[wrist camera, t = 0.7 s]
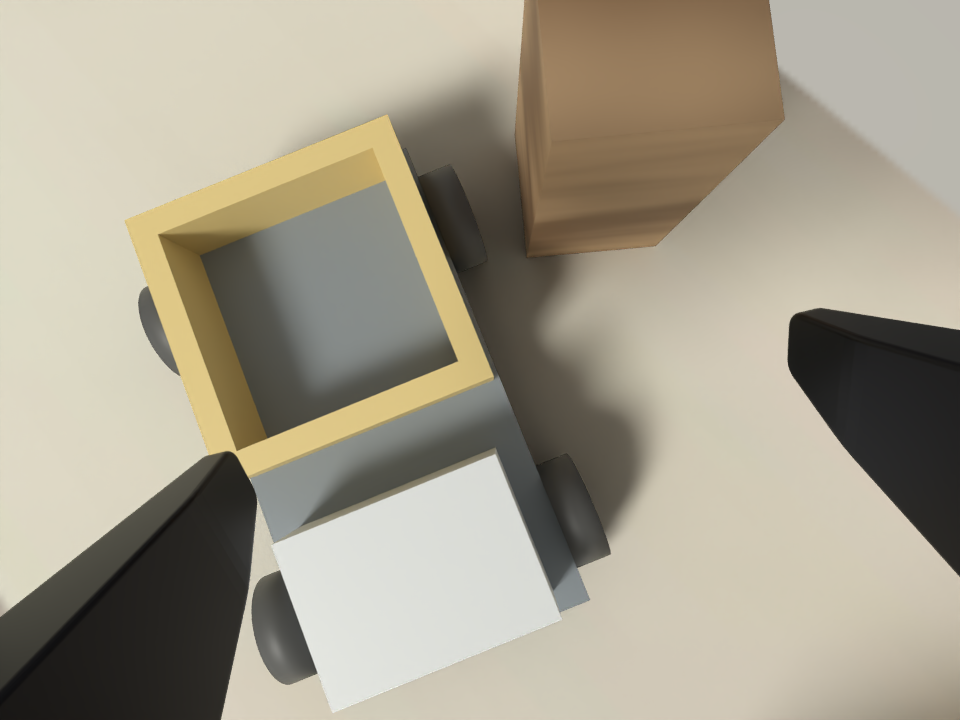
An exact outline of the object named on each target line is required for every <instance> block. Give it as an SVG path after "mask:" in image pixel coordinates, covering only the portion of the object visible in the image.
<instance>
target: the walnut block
mask: <svg viewBox="0 0 960 720" xmlns="http://www.w3.org/2000/svg"><path fill="white" fill-rule="evenodd" d="M784 120H785V117H784V110H783V102H782V95H781V87H780V80H779V72H778V65H777V57H776V50H775V43H774V35H773V27H772V20H771V12H770V4H769V0H525V1H524V15H523V28H522V42H521V56H520V69H519V83H518V97H517V110H516V124H515V141H516V152H517V162H518V173H519V183H520V194H521V204H522V215H523V225H524V236H525V246H526V257H527V258H531V257H542V256H553V255H564V254H574V253H585V252H596V251H607V250H618V249H628V248H639V247H650V246H656V245H657V244H658V243H659V242H660V241H661V240H662V239H663V238H664V237H665V236H666V235H667V234H668V233H669V232H670V231H671V230H672V229H673V228H674V227H675V226H676V225H677V224H679V223H680V222H681V221H682V220H683V219H684V218H685V217H686V216H687V215H688V214H689V213H690V212H691V211H692V210H693V209H694V208H695V207H696V206H697V205H698V204H699V203H700V202H701V201H702V200H703V199H704V198H705V197H706V196H707V195H708V194H709V193H710V192H711V191H712V190H713V189H714V188H715V187H716V186H717V185H718V184H719V183H720V182H721V181H722V180H723V179H724V178H725V177H726V176H727V175H728V174H730V173H731V172H732V171H733V170H734V169H735V168H736V167H737V166H738V165H739V164H740V163H741V162H742V161H743V160H744V159H745V158H746V157H747V156H748V155H749V154H750V153H751V152H752V151H753V150H754V149H755V148H756V147H757V146H758V145H759V144H760V143H761V142H762V141H763V140H764V139H765V138H766V137H767V136H768V135H769V134H770V133H771V132H772V131H773V130H774V129H775V128H776V127H777V126H778V125H780V124H781V123H782V122H783V121H784Z"/></svg>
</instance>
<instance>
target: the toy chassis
mask: <svg viewBox="0 0 960 720" xmlns="http://www.w3.org/2000/svg"><path fill="white" fill-rule="evenodd" d="M125 223H126V226H127V229H128V232H129V234H130V237H131V240H132V243H133V245H134V248H135V251H136V254H137V256H138V259H139V262H140V265H141V268H142V270H143V273H144V276H145V279H146V281H147V284H148V286H147V287H145V288H144V289H143V290H142V291H141V293H140V296H139V302H138V306H139V314H140V318H141V322H142V325H143V328H144V330H145V333H146V335H147V337H148V339H149V341H150V343H151V345H152V347H153V348H154V350H155V351H156V353H157V354H158V355H159V357H160V358H161V359H162V361H163V362H164V363H165V364H166V365H167V366H168V367H169V368H170V369H171V370H172V371H173V372H175V373H176V374H178V375H179V376H181V379H182V381H183V384H184V387H185V390H186V392H187V395H188V398H189V401H190V404H191V406H192V409H193V412H194V415H195V417H196V420H197V423H198V426H199V429H200V431H201V434H202V437H203V440H204V442H205V445H206V448H207V451H208V453H209V455H212V454H216V453H220V452H224V451H230V452H233V453H234V454H235V455H236V456H237V457H238V459H239V461H240V463H241V465H242V467H243V468H244V470H245V472H246V474H247V476H248V478H250V479H251V481H252V484H253V487H254V490H255V492H256V495H257V498H258V501H259V503H260V506H261V509H262V512H263V514H264V517H265V520H266V523H267V525H268V528H269V531H270V533H271V536H272V539H273V542H274V543H273V544H272V545H271V547H272V549H273V552H274V555H275V557H276V560H277V563H278V566H279V568H280V570H279V571H277V572H274V573H272V574H269V575H267V576H264V577H263V578H261V579H260V580H259V582H258V583H257V585H256V587H255V590H254V593H253V598H252V624H253V631H254V636H255V640H256V644H257V647H258V650H259V652H260V655H261V657H262V659H263V662H264V664H265V665H266V667H267V669H268V670H269V672H270V673H271V674H272V675H273V677H274V678H275V679H277V680H278V681H279V682H281V683H283V684H286V685H290V684H293V683H295V682H298V681H300V680H303V679H305V678H308V677H310V676H313V675H315V674H318V675H319V678H320V681H321V684H322V686H323V689H324V692H325V695H326V697H327V700H328V703H329V706H330V708H331V711H332V713H334V712H337V711H339V710H342V709H344V708H347V707H349V706H351V705H354V704H356V703H359V702H361V701H364V700H366V699H369V698H371V697H374V696H376V695H378V694H381V693H383V692H386V691H388V690H391V689H393V688H396V687H398V686H401V685H403V684H405V683H408V682H410V681H413V680H415V679H418V678H420V677H423V676H425V675H428V674H430V673H433V672H435V671H437V670H440V669H442V668H445V667H447V666H450V665H452V664H455V663H457V662H460V661H462V660H464V659H467V658H469V657H472V656H474V655H477V654H479V653H482V652H484V651H487V650H489V649H491V648H494V647H496V646H499V645H501V644H504V643H506V642H509V641H511V640H514V639H516V638H518V637H521V636H523V635H526V634H528V633H531V632H533V631H536V630H538V629H541V628H543V627H546V626H548V625H550V624H553V623H555V622H558V621H560V620H562V618H561V614H560V612H562V611H564V610H567V609H569V608H572V607H574V606H577V605H579V604H582V603H584V602H587V601H589V600H590V598H589V596H588V594H587V591H586V589H585V586H584V584H583V581H582V579H581V576H580V574H579V571H578V569H577V568H578V567H581V566H583V565H585V564H588V563H590V562H593V561H595V560H598V559H600V558H603V557H605V556H608V555H610V554H611V552H610V548H609V544H608V541H607V538H606V535H605V533H604V530H603V527H602V525H601V522H600V520H599V517H598V515H597V512H596V510H595V508H594V505H593V503H592V501H591V498H590V496H589V494H588V491H587V489H586V487H585V485H584V483H583V481H582V479H581V477H580V475H579V473H578V471H577V469H576V467H575V465H574V463H573V461H572V460H571V458H570V456H569V455H568V454H565V455H562V456H560V457H557V458H555V459H553V460H550V461H548V462H545V463H543V464H540V465H538V466H535V463H534V461H533V459H532V456H531V454H530V451H529V449H528V446H527V444H526V441H525V439H524V436H523V434H522V432H521V429H520V427H519V424H518V422H517V419H516V417H515V414H514V412H513V409H512V407H511V405H510V402H509V400H508V397H507V395H506V392H505V390H504V387H503V385H502V382H501V380H500V378H499V375H498V373H497V370H496V368H495V365H494V363H493V360H492V358H491V355H490V353H489V350H488V348H487V346H486V343H485V341H484V338H483V336H482V333H481V331H480V328H479V326H478V323H477V321H476V319H475V316H474V314H473V311H472V309H471V306H470V304H469V301H468V299H467V296H466V294H465V292H464V289H463V287H462V284H461V282H460V279H459V277H458V274H457V273H459V272H461V271H464V270H466V269H469V268H471V267H473V266H476V265H478V264H481V263H483V262H486V261H487V256H486V251H485V248H484V245H483V241H482V238H481V235H480V232H479V229H478V227H477V224H476V221H475V218H474V216H473V213H472V210H471V208H470V205H469V203H468V200H467V198H466V195H465V193H464V191H463V188H462V186H461V184H460V181H459V179H458V177H457V175H456V173H455V171H454V169H453V168H452V166H451V165H450V164H449V165H447V166H445V167H442V168H440V169H437V170H435V171H432V172H430V173H427V174H425V175H422V176H420V177H418V176H417V174H416V171H415V169H414V166H413V164H412V161H411V159H410V157H409V154H408V152H407V149H406V148H405V149H403V150H402V149H401V147H400V144H399V142H398V139H397V137H396V135H395V132H394V130H393V127H392V125H391V122H390V120H389V117H388V115H384V116H382V117H380V118H377V119H375V120H372V121H370V122H367V123H365V124H362V125H360V126H357V127H355V128H352V129H350V130H347V131H345V132H342V133H340V134H337V135H335V136H332V137H330V138H327V139H325V140H322V141H320V142H318V143H315V144H313V145H310V146H308V147H305V148H303V149H300V150H298V151H295V152H293V153H290V154H288V155H285V156H283V157H280V158H278V159H275V160H273V161H270V162H268V163H265V164H263V165H260V166H258V167H256V168H253V169H251V170H248V171H246V172H243V173H241V174H238V175H236V176H233V177H231V178H228V179H226V180H223V181H221V182H218V183H216V184H213V185H211V186H208V187H206V188H203V189H201V190H198V191H196V192H194V193H191V194H189V195H186V196H184V197H181V198H179V199H176V200H174V201H171V202H169V203H166V204H164V205H161V206H159V207H156V208H154V209H151V210H149V211H146V212H144V213H141V214H139V215H136V216H134V217H132V218H129V219H127V220H125Z"/></svg>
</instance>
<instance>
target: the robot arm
mask: <svg viewBox="0 0 960 720" xmlns="http://www.w3.org/2000/svg"><path fill="white" fill-rule="evenodd" d="M787 359H788V367H789V370H790V372H791V374H792V376H793V377H794V379H795V380H796V382H797V383H798V384H799V386H800V387H801V389H802V390H803V391H804V393H805V394H806V396H807V397H808V398H809V400H810V401H811V403H812V404H813V405H814V407H815V408H816V410H817V411H818V412H819V414H820V415H821V417H822V418H823V419H824V421H825V422H826V424H827V425H828V426H829V428H830V429H831V431H832V432H833V433H834V435H835V436H836V437H837V439H838V440H839V441H840V443H841V444H842V445H843V447H844V448H845V449H846V450H847V451H848V452H849V454H850V455H851V456H852V457H853V458H854V459H855V461H856V462H857V463H858V464H859V465H860V466H861V467H862V468H863V470H864V471H865V472H866V473H867V474H868V475H869V476H870V477H871V478H872V480H873V481H874V482H875V483H876V484H877V485H878V486H879V487H880V488H881V490H882V491H883V492H884V493H885V494H886V495H887V496H888V497H889V499H890V500H891V501H892V502H893V503H894V504H895V505H896V506H897V507H898V509H899V510H900V511H901V512H902V513H903V514H904V515H905V516H906V517H907V519H908V520H909V521H910V522H911V523H912V524H913V525H914V526H915V527H916V529H917V530H918V531H919V532H920V533H921V534H922V535H923V536H924V538H925V539H926V540H927V541H928V542H929V543H930V544H931V545H932V546H933V548H934V549H935V550H936V551H937V552H938V553H939V554H940V555H941V556H942V558H943V559H944V560H945V561H946V562H947V563H948V564H949V565H950V566H951V568H952V569H953V570H954V571H955V572H956V573H957V574H958V575H959V577H960V330H956V329H950V328H943V327H937V326H931V325H924V324H918V323H912V322H906V321H899V320H893V319H887V318H880V317H874V316H868V315H862V314H855V313H849V312H843V311H837V310H830V309H824V308H817V309H812V310H808V311H804V312H800V313H797V314H795V315H794V316H793V317H792V318H791V320H790V324H789V338H788V358H787ZM256 510H257V497H256V493H255V490H254V487H253V485H252V484H251V482H250V480H249V478H248V476H247V474H246V472H245V470H244V468H243V467H242V465H241V463H240V461H239V459H238V457H237V456H236V455H235V454H234V453H233V452H230V451H224V452H220V453H216V454H212V455H208V456H205V457H203V458H202V459H201V460H199V461H198V462H197V463H196V464H194V465H193V466H192V467H190V468H189V469H188V470H187V471H185V472H184V473H183V474H182V475H180V476H179V477H178V478H176V479H175V480H174V481H173V482H171V483H170V484H169V485H168V486H166V487H165V488H164V489H163V490H161V491H160V492H159V493H157V494H156V495H155V496H154V497H152V498H151V499H150V500H149V501H147V502H146V503H145V504H143V505H142V506H141V507H140V508H138V509H137V510H136V511H135V512H133V513H132V514H131V515H129V516H128V517H127V518H126V519H124V520H123V521H122V522H121V523H119V524H118V525H117V526H115V527H114V528H113V529H112V530H110V531H109V532H108V533H107V534H105V535H104V536H103V537H101V538H100V539H99V540H98V541H96V542H95V543H94V544H93V545H91V546H90V547H89V548H87V549H86V550H85V551H84V552H82V553H81V554H80V555H79V556H77V557H76V558H75V559H73V560H72V561H71V562H70V563H68V564H67V565H66V566H65V567H63V568H62V569H61V570H59V571H58V572H57V573H56V574H54V575H53V576H52V577H51V578H49V579H48V580H47V581H45V582H44V583H43V584H42V585H40V586H39V587H38V588H37V589H35V590H34V591H33V592H31V593H30V594H29V595H28V596H26V597H25V598H24V599H23V600H21V601H20V602H19V603H17V604H16V605H15V606H14V607H12V608H11V609H10V610H9V611H7V612H6V613H5V614H3V615H2V616H1V617H0V720H221V717H222V712H223V707H224V703H225V698H226V693H227V689H228V684H229V679H230V675H231V670H232V665H233V661H234V656H235V651H236V647H237V642H238V638H239V633H240V628H241V624H242V619H243V614H244V610H245V605H246V600H247V594H248V589H249V581H250V573H251V563H252V552H253V542H254V531H255V521H256Z"/></svg>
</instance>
